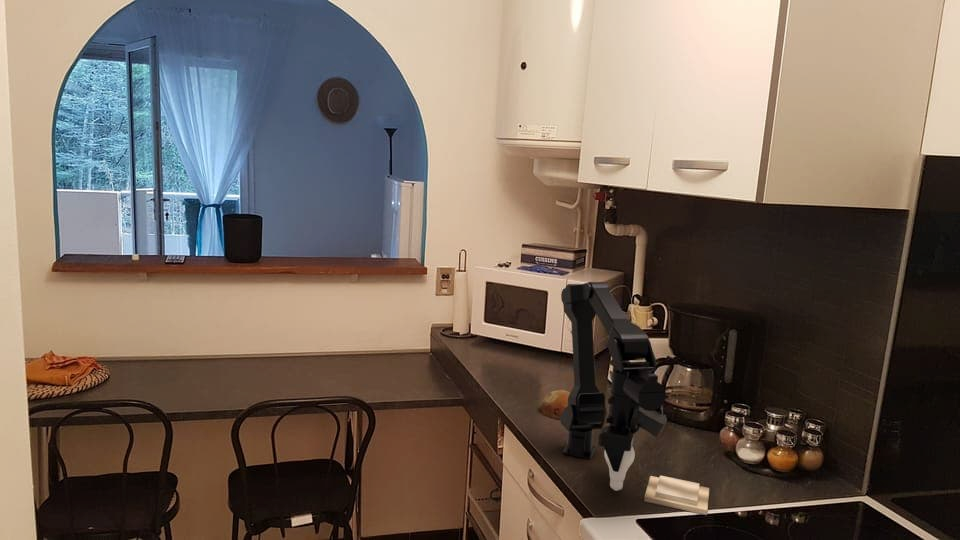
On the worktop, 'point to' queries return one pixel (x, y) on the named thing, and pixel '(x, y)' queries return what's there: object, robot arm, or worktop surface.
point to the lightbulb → (620, 469)
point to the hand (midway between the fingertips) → (618, 465)
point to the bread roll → (555, 403)
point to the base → (677, 494)
